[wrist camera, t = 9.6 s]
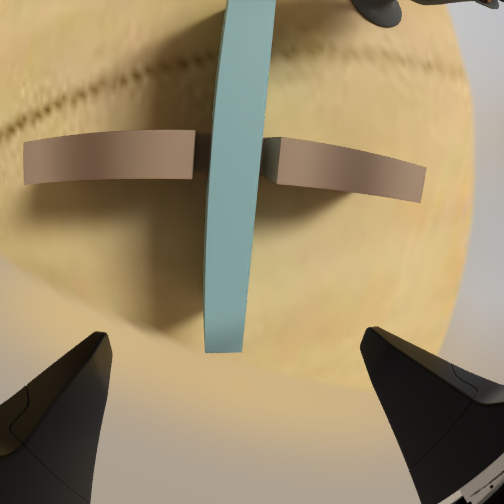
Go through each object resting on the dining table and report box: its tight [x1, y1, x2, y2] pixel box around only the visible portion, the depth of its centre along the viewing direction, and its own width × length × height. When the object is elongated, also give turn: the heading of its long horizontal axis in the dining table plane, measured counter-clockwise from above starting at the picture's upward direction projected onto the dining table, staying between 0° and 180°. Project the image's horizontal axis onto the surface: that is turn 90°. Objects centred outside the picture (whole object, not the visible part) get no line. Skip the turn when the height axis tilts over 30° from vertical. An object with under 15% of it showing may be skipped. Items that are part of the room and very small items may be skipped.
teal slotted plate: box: [203, 0, 276, 353], centre depth 14 cm, size 20×2×6 cm, turn 175°
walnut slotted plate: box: [23, 130, 426, 203], centre depth 14 cm, size 20×2×6 cm, turn 85°
